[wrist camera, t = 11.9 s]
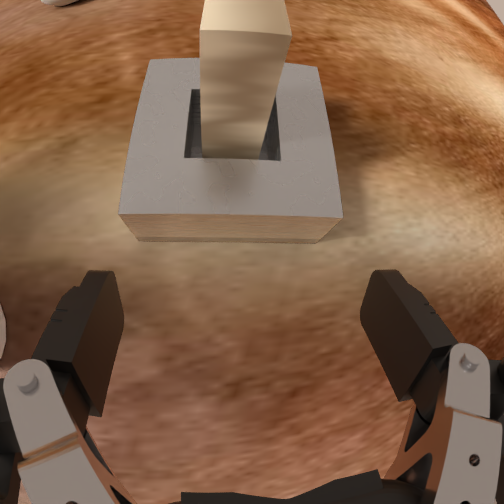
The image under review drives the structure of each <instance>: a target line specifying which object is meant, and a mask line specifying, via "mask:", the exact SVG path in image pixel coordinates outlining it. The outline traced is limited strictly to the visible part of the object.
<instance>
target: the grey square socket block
mask: <svg viewBox="0 0 504 504" xmlns="http://www.w3.org/2000/svg"><path fill="white" fill-rule="evenodd" d="M118 214H119V216H120V217H121V219H122V220H123V221H124V223H125V224H126V225H127V226H128V228H129V229H130V230H131V232H132V233H133V234H134V236H135V237H136V238H137V240H138V241H170V242H265V243H317V242H318V241H319V240H320V239H321V238H322V237H323V236H324V235H326V234H327V233H328V232H329V231H330V230H331V229H332V228H333V227H334V226H335V225H336V224H337V223H338V222H340V221H341V220H342V219H343V211H342V203H341V196H340V188H339V181H338V174H337V168H336V162H335V155H334V149H333V144H332V138H331V132H330V127H329V121H328V116H327V111H326V106H325V101H324V97H323V92H322V87H321V83H320V78H319V74H318V70H317V67H313V66H306V65H299V64H291V63H284V66H283V70H282V73H281V77H280V81H279V84H278V88H277V91H276V95H275V99H274V102H273V106H272V110H271V114H270V117H269V121H268V125H267V128H266V132H265V136H264V140H263V143H262V147H261V151H260V155H259V159H258V160H252V159H219V158H202V140H201V107H200V58H174V59H154V60H150V62H149V66H148V69H147V73H146V76H145V80H144V84H143V88H142V91H141V95H140V99H139V103H138V107H137V112H136V116H135V120H134V125H133V130H132V134H131V139H130V144H129V149H128V155H127V160H126V166H125V171H124V177H123V184H122V190H121V197H120V205H119V212H118Z"/></svg>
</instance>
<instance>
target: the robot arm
mask: <svg viewBox="0 0 504 504" xmlns="http://www.w3.org/2000/svg"><path fill="white" fill-rule="evenodd" d="M360 320H361V324H362V326H363V328H364V330H365V332H366V334H367V336H368V338H369V340H370V342H371V344H372V346H373V348H374V350H375V352H376V354H377V356H378V359H379V361H380V363H381V365H382V367H383V369H384V371H385V373H386V375H387V377H388V379H389V381H390V384H391V386H392V388H393V390H394V392H395V394H396V397H397V399H398V401H399V402H401V401H405V400H409V399H413V400H414V402H415V404H414V405H413V406H412V408H411V411H410V414H409V418H408V422H407V425H406V429H405V432H404V435H403V439H402V442H401V445H400V448H399V451H398V454H397V457H396V459H395V461H394V462H393V464H392V465H391V467H390V468H389V470H388V471H387V473H386V475H385V477H384V479H381V478H380V475H379V472H378V469H377V470H373V471H370V472H366V473H362V474H358V475H354V476H350V477H345V478H341V479H336V480H333V481H331V482H329V483H327V484H324V485H322V486H320V487H318V488H315V489H313V490H311V491H308V492H306V493H303V494H301V495H298V496H296V497H293V498H290V499H276V498H267V497H259V496H252V495H246V494H240V493H234V492H226V493H191V492H181V501H179V502H173V503H170V504H494V501H495V499H496V501H497V504H504V358H503V359H502V360H488V359H487V357H486V356H485V355H484V353H483V352H482V351H481V350H479V349H478V348H477V347H475V346H473V345H470V344H467V343H458V342H457V340H456V339H455V338H454V336H453V335H452V333H451V332H450V331H449V329H448V328H447V326H446V325H445V324H444V322H443V321H442V320H441V318H440V317H439V315H438V314H436V311H435V310H434V309H433V307H432V306H431V305H429V302H428V301H427V300H426V298H425V297H424V296H423V294H422V293H421V292H420V291H418V290H417V289H416V288H414V287H413V286H411V285H410V284H408V283H407V281H406V280H405V279H404V278H403V276H402V275H401V274H400V273H399V271H397V270H375V271H374V272H373V273H372V275H371V277H370V281H369V284H368V287H367V290H366V293H365V296H364V300H363V303H362V306H361V310H360ZM123 326H124V314H123V308H122V304H121V300H120V296H119V291H118V287H117V282H116V277H115V274H114V272H113V271H97V270H90V271H88V272H87V274H86V276H85V277H84V279H83V281H82V283H81V285H80V287H76V286H74V287H73V288H72V289H70V290H69V291H68V292H67V293H66V294H65V295H64V296H63V297H62V298H61V300H60V302H59V304H58V305H57V307H56V311H54V313H53V315H52V317H51V321H49V323H48V325H47V327H46V329H45V331H44V333H43V335H42V337H41V339H40V341H39V343H38V345H37V347H36V349H35V351H34V353H33V356H32V358H31V359H27V360H23V361H21V362H19V363H17V364H15V365H14V366H13V367H12V368H11V369H10V370H9V371H8V373H7V374H6V376H5V378H1V379H0V504H18V496H19V489H20V482H21V480H22V483H23V485H24V487H25V490H26V492H27V494H28V497H29V499H30V501H31V503H32V504H137V503H136V501H135V500H134V499H133V498H132V496H131V495H130V494H129V492H128V491H127V490H126V489H125V488H124V486H123V485H122V484H121V482H120V481H119V480H118V478H117V477H116V475H115V474H114V472H113V471H112V469H111V468H110V466H109V464H108V463H107V461H106V460H105V458H104V456H103V455H102V453H101V451H100V450H99V448H98V446H97V444H96V443H95V441H94V439H93V437H92V435H91V434H90V432H89V430H88V428H87V427H86V424H87V420H88V416H89V415H90V416H97V417H102V413H103V408H104V403H105V399H106V394H107V390H108V386H109V381H110V377H111V373H112V369H113V365H114V361H115V357H116V353H117V350H118V346H119V342H120V339H121V335H122V331H123Z"/></svg>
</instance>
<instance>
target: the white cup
mask: <svg viewBox="0 0 504 504" xmlns="http://www.w3.org/2000/svg"><path fill="white" fill-rule="evenodd" d="M5 343H6V320H5V317H4V314H3V310H2V307H1V304H0V359H1V358H2V354H3V350H4V347H5Z"/></svg>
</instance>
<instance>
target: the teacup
mask: <svg viewBox="0 0 504 504" xmlns="http://www.w3.org/2000/svg"><path fill="white" fill-rule="evenodd" d="M41 1H42V2H43V3H45V4H48V5H54V6H63V5H67V4H70V3H73V2H75V1H78V0H41Z"/></svg>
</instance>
